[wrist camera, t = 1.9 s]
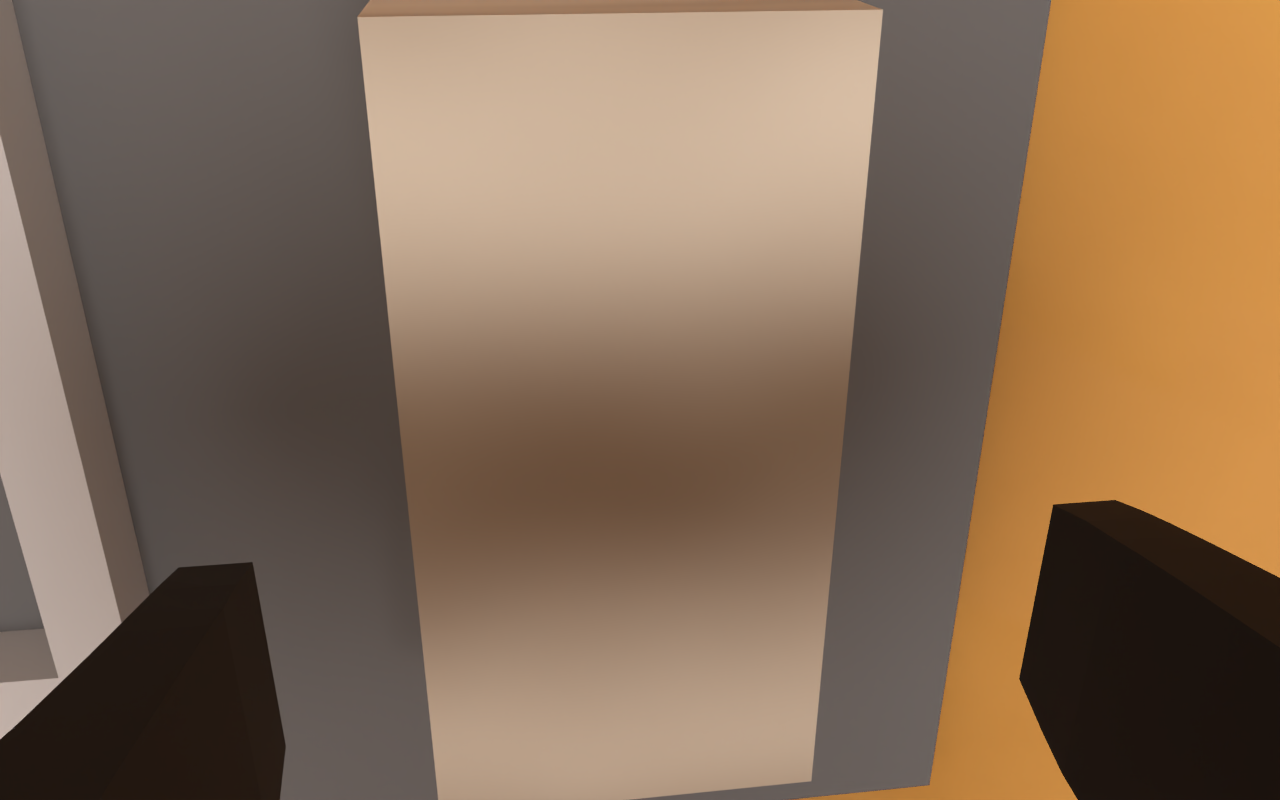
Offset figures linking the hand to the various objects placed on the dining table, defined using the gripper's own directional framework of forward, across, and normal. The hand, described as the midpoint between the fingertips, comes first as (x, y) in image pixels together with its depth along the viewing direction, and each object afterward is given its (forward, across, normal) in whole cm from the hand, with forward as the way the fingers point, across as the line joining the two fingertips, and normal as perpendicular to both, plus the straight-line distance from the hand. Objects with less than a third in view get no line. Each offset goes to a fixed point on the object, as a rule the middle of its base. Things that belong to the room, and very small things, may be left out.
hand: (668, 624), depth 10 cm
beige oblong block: (+6, 0, 0) cm, 6 cm away
